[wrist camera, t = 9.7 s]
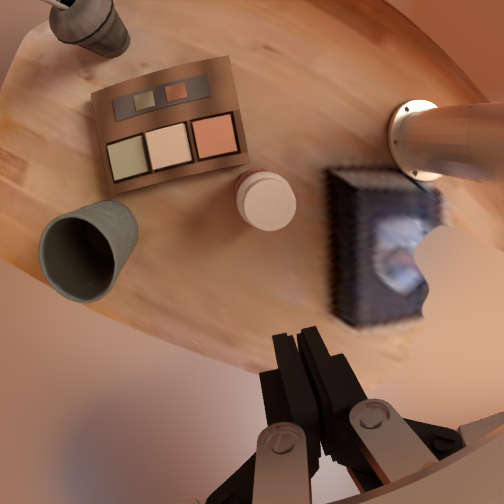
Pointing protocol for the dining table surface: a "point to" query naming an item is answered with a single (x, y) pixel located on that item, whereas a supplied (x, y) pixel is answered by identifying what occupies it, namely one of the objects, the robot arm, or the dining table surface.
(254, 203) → the pill bottle
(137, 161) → the key sage
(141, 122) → the keypad board
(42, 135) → the dining table surface
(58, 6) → the beverage cup
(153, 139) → the key cream
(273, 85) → the dining table surface
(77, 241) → the grey green cup
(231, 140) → the key terracotta
